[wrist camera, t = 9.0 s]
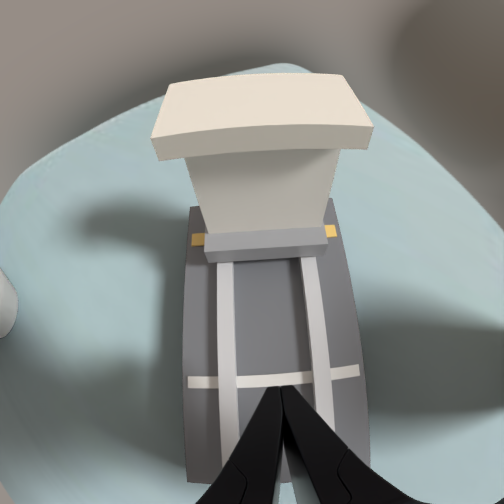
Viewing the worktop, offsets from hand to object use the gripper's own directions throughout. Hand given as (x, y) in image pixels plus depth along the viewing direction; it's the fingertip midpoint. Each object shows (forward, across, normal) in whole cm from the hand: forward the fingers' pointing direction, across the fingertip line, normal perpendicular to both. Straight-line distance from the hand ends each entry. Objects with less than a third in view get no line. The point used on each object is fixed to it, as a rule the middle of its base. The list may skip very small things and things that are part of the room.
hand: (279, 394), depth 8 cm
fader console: (+7, 0, +2) cm, 7 cm away
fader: (+9, 0, -4) cm, 9 cm away
